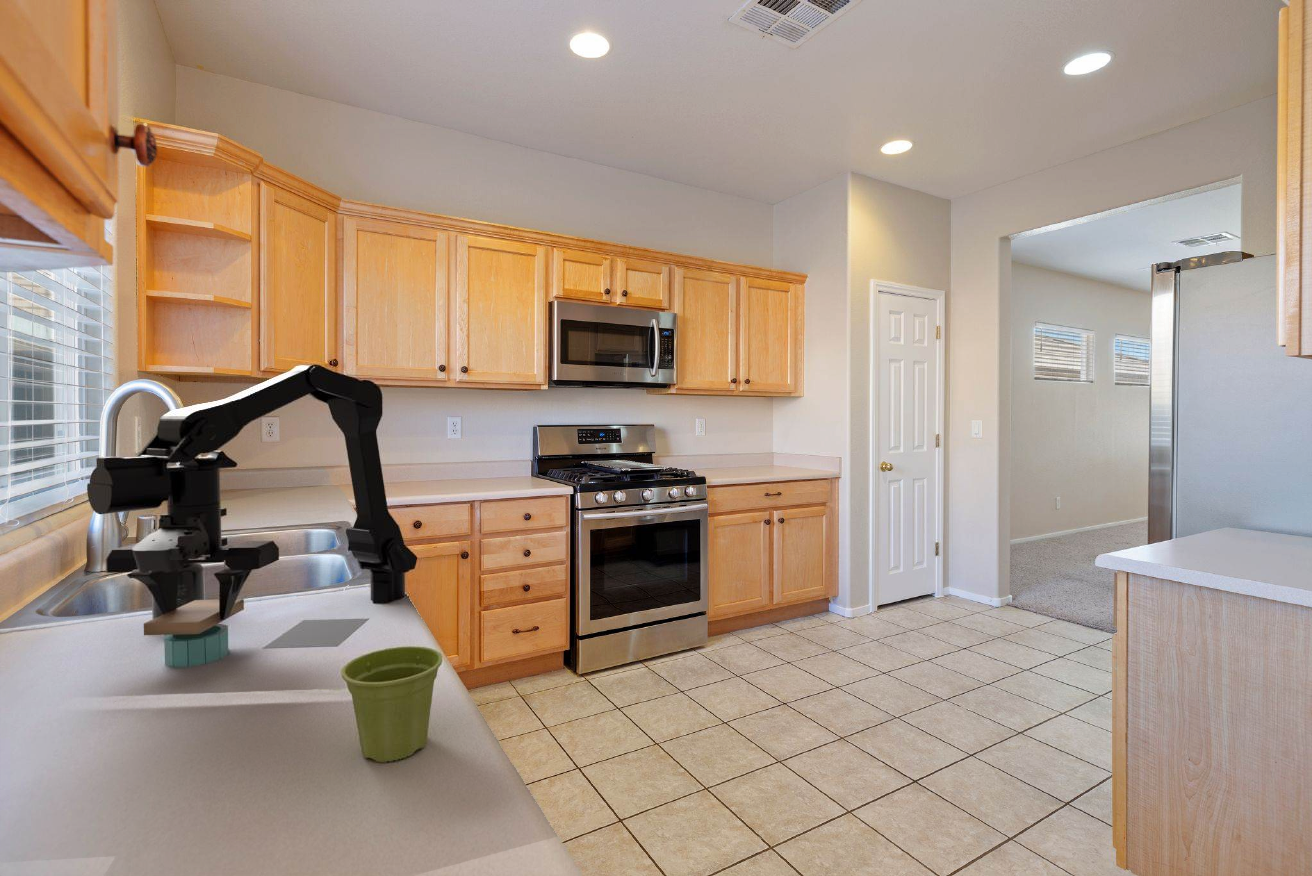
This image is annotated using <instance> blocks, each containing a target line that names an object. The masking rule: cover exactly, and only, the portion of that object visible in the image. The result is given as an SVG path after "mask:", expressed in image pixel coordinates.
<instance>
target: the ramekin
mask: <svg viewBox="0 0 1312 876" xmlns="http://www.w3.org/2000/svg"><path fill="white" fill-rule="evenodd" d="M163 644H164V665H165V666H167V667H171V668H188V667H189V668H190V667H195V666H199V665H204V664H205V665H206V664H209V663H212V662H215V661H217V660H220V659H222V658H224V657H226V656H227V655H229V625H227V624H223V623H218V624H216V625H214V626H212V627H211V628H209V629H207V630H205V631H203V632H201V633H200V634H177V635H164V643H163Z"/></svg>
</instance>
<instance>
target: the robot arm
mask: <svg viewBox="0 0 1312 876" xmlns="http://www.w3.org/2000/svg"><path fill="white" fill-rule="evenodd" d="M307 395H309V396H311V397H312V398H313V399H315V400H316V401H319V402H322V403H323V404H326V405H327V406H328V409H329V412H330V415H331V418H332V420H333V421H334V424H336V426H337V427H338V428H339V429H340V431H341V432H342V434H343V436H344V440H345V441H344V442H345V447H346V454H347V461H348V466H349V472H350V479H351V484H352V490H353V497H354V503H355V509H356V519H355V521H354V523H353V526H351V527H347V528H346V529H345V534H346V538H347V541H348V545H347V546H348V547H347V551H348V552H351V554H352V556H353V558H354V559H356V560H357V562H358V566H359V569H360V570H368V571H369V575H370V577H369V578H370V580H369V581H370V587H369V588H370V601H371V602H372V604H373V605H375V604H377V605H379V604H390V603H393V602H395V601H398V600H402V599H404V598H405V597H406V573H408V572H410V571H411V570H415V569H416V564H417V562H418V561H417V560H418V557H417V555H416V554H415V553H414V552H413V551H412V550H411V549H410V548H409V547H408V546H407V545H406V544H405V540H404V537H403V534H402V531H401V528H400V525H399V524H398V523H397V521H396V520H395V519H394V517H393V516H392V515H391V513H390V512H389V508H388V501H387V496H386V495H387V494H386V489H385V481H384V474H383V469H382V462H381V456H380V455H381V454H380V449H379V442H378V441H379V440H378V436H377V430H378V428H379V424H380V422H381V420H382V416H383V415H384V414H383V413H384V412H383V410H384V409H383V407H384V405H383V404H384V403H383V399H384V398H383V393H382V389H381V388H380V386H379V385H377V384H376V383H375V382H374V381H372V380H370V379H358V378H356V377H353V376H350V375H346V374H343V373H339V372H336V371H333V370H331V369H329V368H327V367H325V366H322V365H320V364H317V363H315V364H301V365H296V366H295V367H293V368H292V369H291V370H289V371H286V372H284V373H282V374H280V375H277V376H275V377H273V378H270V379H268V380H266V381H264V382H261V383H259V384H256V385H254V386H251V387H250V388H246V389H245V390H242V391H240V392H238V393H235V394H234V395H231V396H229V397H226V398H224V399H220V400H216V401H211V402H205V403H199V404H195V405H191V406H185V407H181V408H178V409H174V410H170V411H167V413H165V414H163V415H162V416H161V417H160V418H159V422H158V424H157V429H156V433H155V434H154V435H153V436H152V438H151V439H150V440H149V441H148V442H147V444H146V445H145V446H144V447H143V449H141V451H140V452H139V453H138V454H137V456H128V457H127V456H126V457H119V456H99V457H97V458H96V467H95V468H94V469H93V471H92V472H91V475H90V477H89V483H87V484H86V491H87V492H86V493H87V498H88V502H89V504H90V507H91V508H92V511H94V513H96V514H98V515H108V514H117V513H126V512H134V511H135V512H136V511H141V510H151V509H157V508H159V507H160V506H161V505H162V504H163V502H166V503H167V504H166V505H167V509H166V510H167V511H166V512H167V513H163V514H159V515H160V517H159V519H158V528H157V530H156V531H154V532H151V533H149V534H148V535H147V536H146V537H144V538H143V539H142V540H140V541H139V542H136V543H132V544H129V545H128V544H127V545H125V546H121V547H117V548H114V549H112V550H111V551H110V552H109V554H108V555H107V556H106V558H105V573H107V574H108V573H110V574H111V573H127V574H126V577H127V578H128V579H136V580H137V581H138V582H140V583H142V584H143V585H145V587H147V589H148V590H149V592H150V594H151V596H152V595H153V597H154V599H155V601H156V603H157V605H158V607H159V609H160V610H161V612H162V614H163V615H164V614H166V613H168V612H170V611H172V610H175V609H176V608H177V594H178V579H179V569H181V568H182V567H183V566H184V564H185V563H199V564H206V563H215V564H216V563H223V566H224V567H223V569H222V570H219V571H217V572H214V573H213V575H214V577H215V579H216V580H217V581H218V583H219V599H218V600H219V612H220V618H221V620H224V621H225V620H227V619H229V618H230V617H229V615H230V613H231V610H232V608H233V606H234V604H235V601H236V599H238V597H239V595H240V592H241V590H242V588H243V586H244V584H246V583H245V582H246V581H247V580H248V578H249V576H250V574H251V573H252V571H255V570H259V569H262V568H263V567H267V566H268V565H271V564H273V563H275V562H277V561H279V560H280V549H279V546H278V544H276V542H275V541H274V540H247V541H245V542H241V543H239V544H236V545H233V546H230V547H226V546H228V537H222V517H226V516H227V515H228V514H227V513H228V511H227V510H228V509H227V507H222V506H221V505H222V504H221V475H220V474H221V472H220V471H221V470H220V469H231V468H236V467H237V466H238V462H236V461H235V460H233V458H230V457H229V456H228V455H227V454H226V453H225V452H224V450H219V449H221V448H222V447H223V446H225V445H226V444H228V443H229V442H231V441H232V440H233V439H235V438H237V436H238V435H239V434H240V433H241V431H242V430H243V429H244V428H245V427H246V426H248V425H249V424H250V423H251V422H254V421H255V420H258V419H260V418H262V417H264V416H266V415H268V414H270V413H272V412H274V411H276V410H278V409H281V408H283V407H285V406H287V405H289V404H291V403H293V402H295V401H298V400H300V399H301V398H305V397H306V396H307ZM201 454H208V455H206V456H199V455H201ZM176 463H177V464H178V465H169V466H168V464H176ZM228 617H229V618H228Z"/></svg>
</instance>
